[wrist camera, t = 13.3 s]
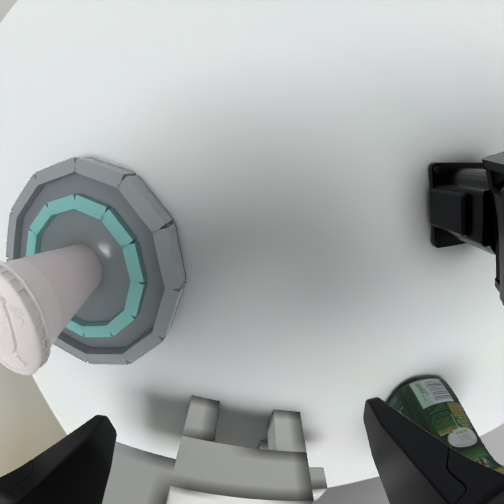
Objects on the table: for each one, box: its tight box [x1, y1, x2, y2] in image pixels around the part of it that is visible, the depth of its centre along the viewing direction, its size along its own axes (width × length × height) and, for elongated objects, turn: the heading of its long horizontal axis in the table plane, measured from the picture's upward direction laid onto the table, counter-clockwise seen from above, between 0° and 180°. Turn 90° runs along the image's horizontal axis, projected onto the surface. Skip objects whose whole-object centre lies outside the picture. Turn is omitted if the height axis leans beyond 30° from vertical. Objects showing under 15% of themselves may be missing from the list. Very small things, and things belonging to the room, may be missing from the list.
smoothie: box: [0, 244, 102, 375], centre depth 13 cm, size 6×6×14 cm
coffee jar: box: [387, 378, 504, 474], centre depth 16 cm, size 10×8×19 cm
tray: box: [6, 157, 186, 365], centre depth 20 cm, size 16×16×2 cm
